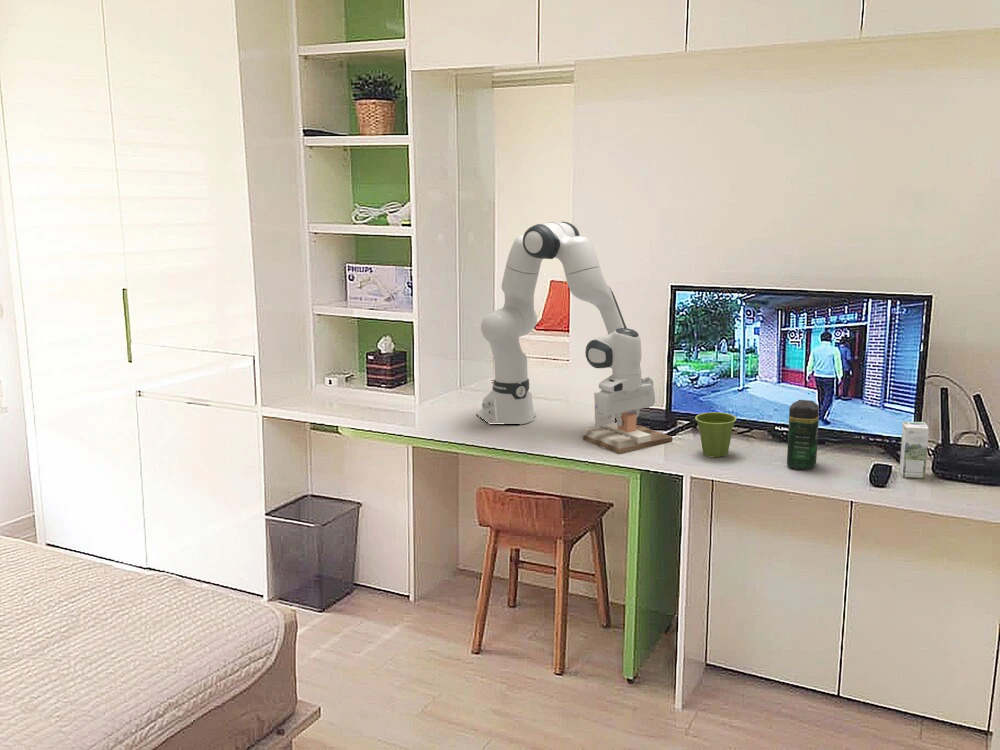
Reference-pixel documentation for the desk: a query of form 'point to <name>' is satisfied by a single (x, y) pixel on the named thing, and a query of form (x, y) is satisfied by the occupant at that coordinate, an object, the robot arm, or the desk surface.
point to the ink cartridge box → (601, 419)
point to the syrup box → (913, 449)
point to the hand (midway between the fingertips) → (626, 424)
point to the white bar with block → (629, 428)
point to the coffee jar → (803, 434)
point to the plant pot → (715, 432)
